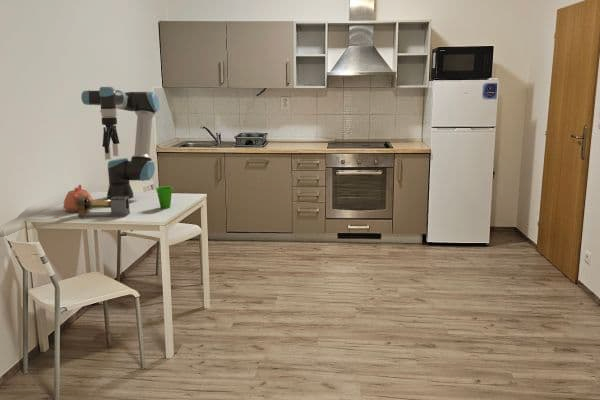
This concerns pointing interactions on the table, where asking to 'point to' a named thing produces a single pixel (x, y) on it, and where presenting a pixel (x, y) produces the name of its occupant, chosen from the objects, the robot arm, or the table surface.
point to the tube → (97, 204)
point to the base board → (102, 214)
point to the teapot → (74, 199)
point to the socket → (82, 206)
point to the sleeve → (120, 205)
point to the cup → (164, 196)
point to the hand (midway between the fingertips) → (112, 157)
